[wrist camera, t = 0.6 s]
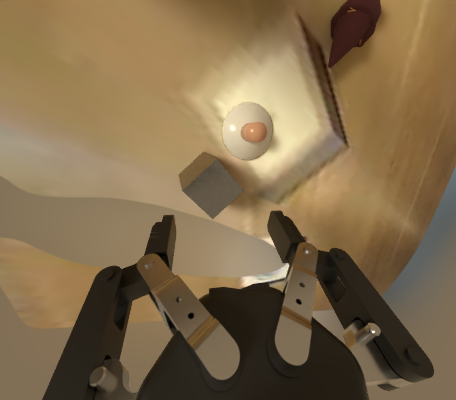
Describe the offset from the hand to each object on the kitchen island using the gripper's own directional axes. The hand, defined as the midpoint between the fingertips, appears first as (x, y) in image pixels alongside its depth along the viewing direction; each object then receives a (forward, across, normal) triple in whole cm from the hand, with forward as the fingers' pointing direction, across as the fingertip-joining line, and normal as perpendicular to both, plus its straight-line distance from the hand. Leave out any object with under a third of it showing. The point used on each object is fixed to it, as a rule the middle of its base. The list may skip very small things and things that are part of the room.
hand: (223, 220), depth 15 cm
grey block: (+20, +1, +6) cm, 20 cm away
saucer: (+23, -7, -2) cm, 24 cm away
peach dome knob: (+22, -7, -2) cm, 23 cm away
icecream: (+30, -24, -17) cm, 42 cm away
